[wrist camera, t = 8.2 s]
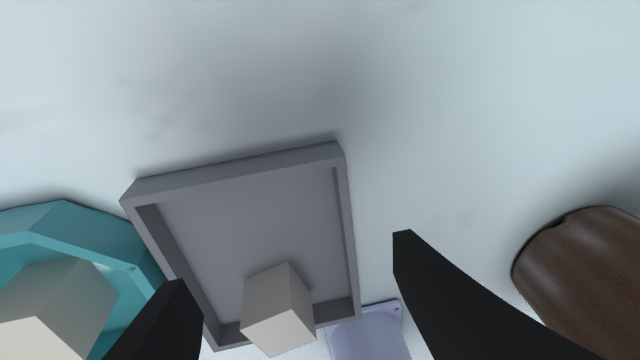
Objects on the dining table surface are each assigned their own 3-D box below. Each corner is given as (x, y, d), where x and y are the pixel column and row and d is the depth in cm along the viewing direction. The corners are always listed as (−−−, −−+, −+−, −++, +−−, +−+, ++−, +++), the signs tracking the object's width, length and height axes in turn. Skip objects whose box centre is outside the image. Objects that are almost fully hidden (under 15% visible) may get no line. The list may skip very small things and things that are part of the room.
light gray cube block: (310, 291, 25) (316, 339, 21) (270, 308, 26) (270, 358, 22) (288, 261, 23) (291, 308, 19) (244, 279, 23) (239, 330, 19)
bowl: (203, 311, 25) (195, 349, 22) (46, 346, 24) (17, 389, 22) (128, 184, 18) (102, 215, 15) (-94, 228, 17) (-165, 268, 15)
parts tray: (355, 294, 27) (362, 318, 25) (218, 325, 26) (213, 352, 24) (336, 140, 19) (345, 156, 17) (136, 178, 18) (117, 200, 16)
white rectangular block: (119, 296, 22) (85, 360, 18) (67, 308, 22) (19, 375, 18) (84, 253, 20) (35, 316, 15) (25, 265, 19) (-42, 332, 15)
